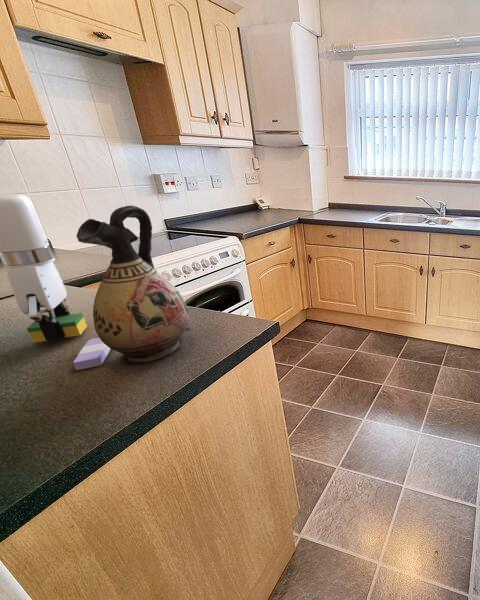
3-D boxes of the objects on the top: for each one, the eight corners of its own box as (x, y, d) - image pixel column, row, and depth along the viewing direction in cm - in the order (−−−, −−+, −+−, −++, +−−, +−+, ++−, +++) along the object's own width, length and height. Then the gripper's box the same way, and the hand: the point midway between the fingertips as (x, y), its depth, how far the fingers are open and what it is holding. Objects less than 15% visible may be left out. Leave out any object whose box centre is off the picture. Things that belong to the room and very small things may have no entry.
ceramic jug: (149, 378, 63) (88, 217, 51) (91, 364, 68) (22, 212, 55) (218, 334, 78) (184, 202, 66) (167, 326, 82) (126, 199, 70)
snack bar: (101, 365, 67) (98, 357, 67) (75, 370, 66) (72, 362, 65) (114, 342, 76) (111, 335, 75) (91, 346, 74) (88, 339, 73)
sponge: (33, 342, 74) (26, 328, 72) (43, 332, 78) (36, 319, 76) (80, 335, 77) (74, 321, 75) (87, 326, 81) (82, 312, 80)
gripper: (22, 248, 75) (54, 320, 83) (-22, 270, 61) (21, 355, 69) (66, 245, 78) (93, 315, 86) (33, 265, 64) (69, 347, 72)
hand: (60, 332), depth 77 cm, fingers closed on sponge, 5 cm apart
